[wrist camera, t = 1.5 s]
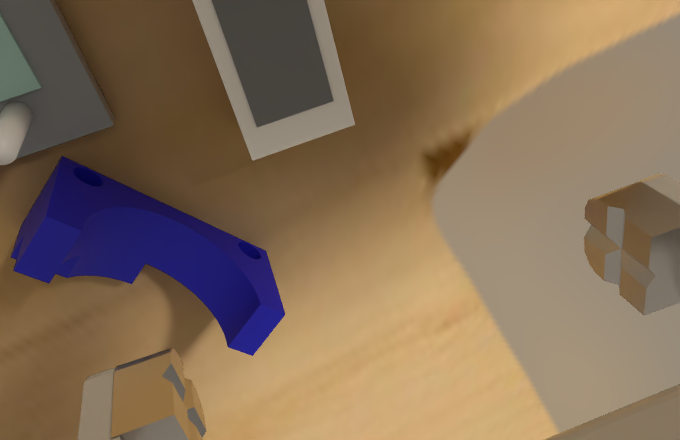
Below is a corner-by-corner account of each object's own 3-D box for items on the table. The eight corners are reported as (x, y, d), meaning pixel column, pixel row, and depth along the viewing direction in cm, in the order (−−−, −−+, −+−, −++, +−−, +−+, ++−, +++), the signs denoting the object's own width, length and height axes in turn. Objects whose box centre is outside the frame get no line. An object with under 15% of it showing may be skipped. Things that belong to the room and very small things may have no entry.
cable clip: (21, 224, 30) (-3, 296, 26) (62, 154, 29) (45, 216, 24) (224, 304, 36) (236, 375, 32) (265, 249, 35) (285, 314, 30)
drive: (273, -121, 26) (295, -115, 22) (330, 92, 31) (355, 125, 28) (161, -86, 25) (164, -75, 21) (239, 123, 31) (252, 161, 27)
